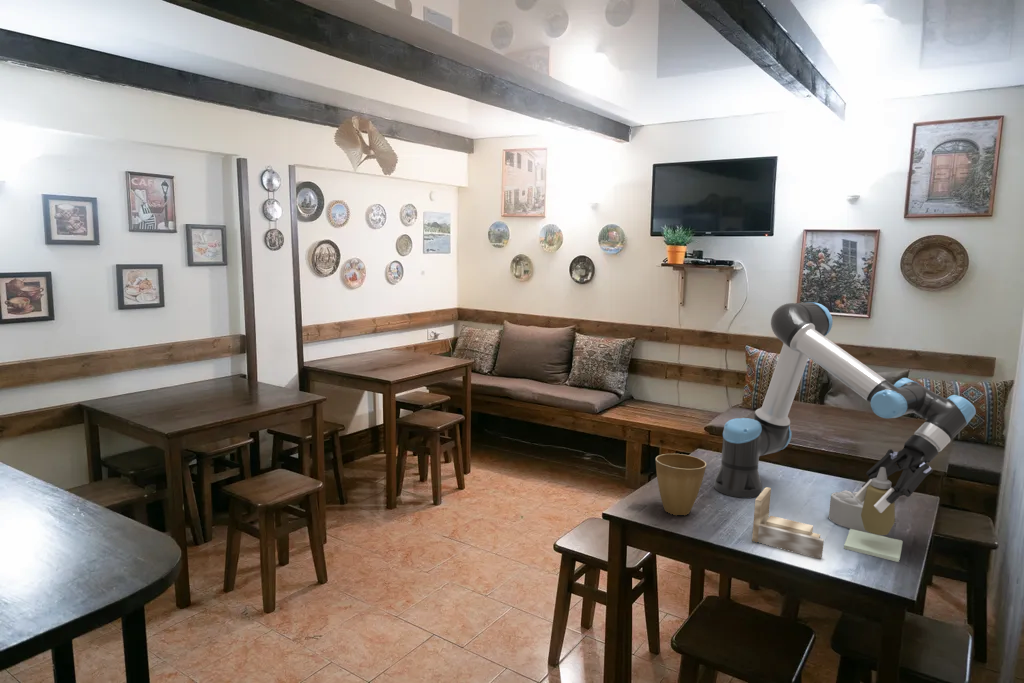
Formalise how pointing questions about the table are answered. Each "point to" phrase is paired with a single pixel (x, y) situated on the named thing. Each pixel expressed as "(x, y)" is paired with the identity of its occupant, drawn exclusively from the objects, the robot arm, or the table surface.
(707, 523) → the table surface
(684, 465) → the plant pot
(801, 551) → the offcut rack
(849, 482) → the table surface
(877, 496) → the squeeze bottle
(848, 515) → the lumpy-topped squat cylinder
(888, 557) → the sage mat
